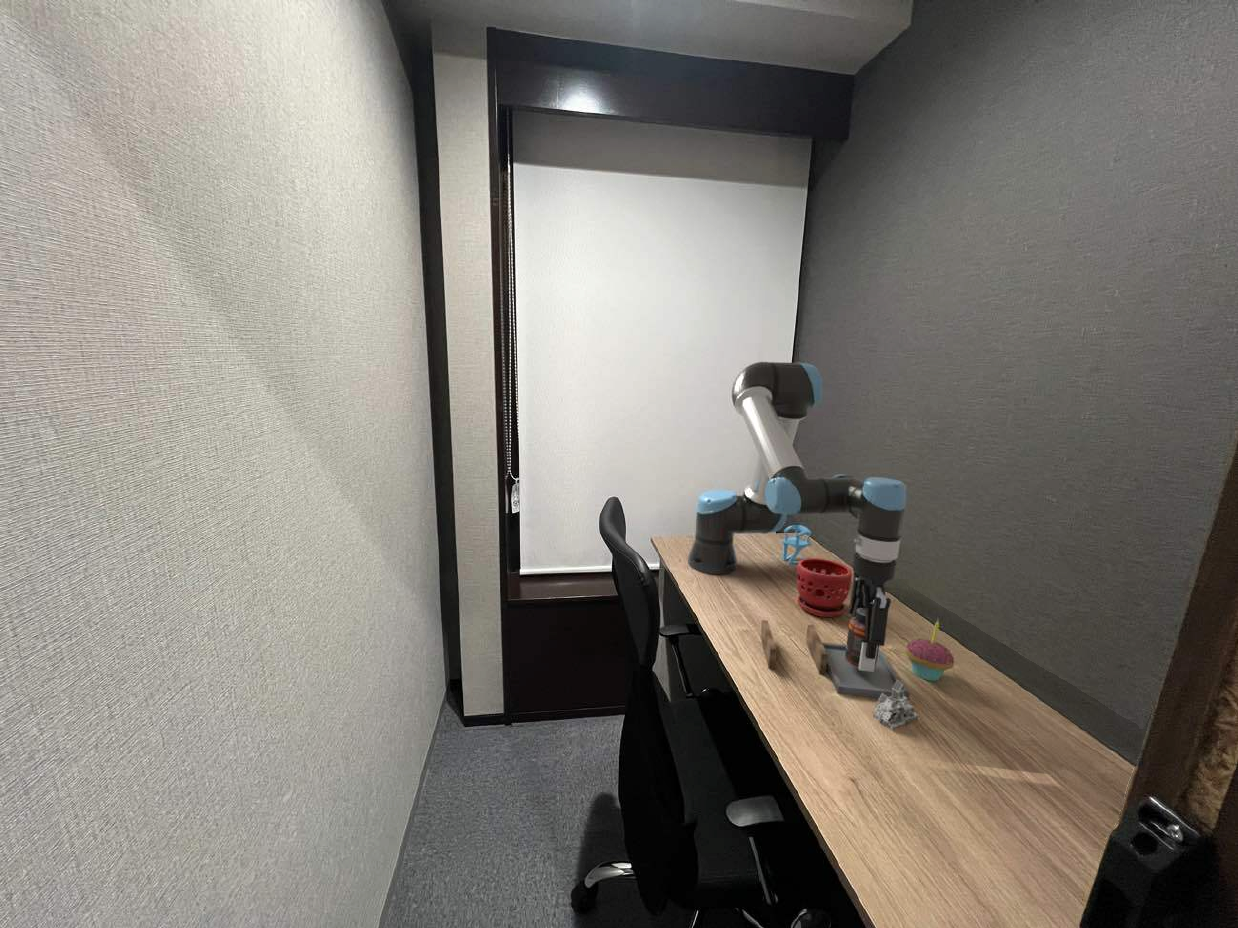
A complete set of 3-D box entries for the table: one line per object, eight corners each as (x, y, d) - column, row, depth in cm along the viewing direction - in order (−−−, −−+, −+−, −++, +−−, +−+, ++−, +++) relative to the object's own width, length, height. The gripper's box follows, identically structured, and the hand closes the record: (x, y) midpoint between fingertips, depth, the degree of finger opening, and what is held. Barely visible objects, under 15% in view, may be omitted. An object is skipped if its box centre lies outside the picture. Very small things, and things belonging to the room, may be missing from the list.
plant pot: (858, 616, 128) (864, 573, 126) (817, 624, 123) (822, 579, 121) (821, 594, 140) (826, 554, 138) (783, 600, 135) (787, 559, 133)
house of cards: (884, 691, 99) (889, 656, 98) (925, 719, 91) (931, 682, 90) (850, 701, 96) (855, 665, 94) (889, 732, 88) (895, 693, 86)
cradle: (760, 637, 116) (762, 620, 115) (811, 642, 115) (813, 624, 114) (768, 668, 105) (770, 648, 104) (825, 674, 103) (827, 654, 102)
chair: (776, 559, 164) (779, 524, 162) (794, 555, 168) (797, 521, 166) (794, 568, 157) (798, 532, 155) (812, 564, 161) (816, 528, 159)
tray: (817, 647, 113) (817, 641, 113) (877, 653, 111) (878, 647, 111) (837, 693, 97) (838, 686, 97) (908, 700, 96) (909, 693, 95)
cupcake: (910, 657, 110) (918, 607, 108) (955, 675, 104) (965, 622, 102) (897, 673, 104) (906, 621, 102) (944, 693, 98) (954, 637, 96)
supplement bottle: (880, 672, 100) (887, 621, 98) (848, 668, 102) (855, 617, 99) (871, 655, 106) (878, 607, 104) (841, 651, 107) (848, 603, 105)
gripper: (841, 538, 109) (829, 634, 113) (872, 573, 90) (856, 686, 95) (877, 540, 108) (863, 637, 113) (916, 577, 90) (898, 691, 94)
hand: (860, 660), depth 104 cm, fingers closed on supplement bottle, 6 cm apart
